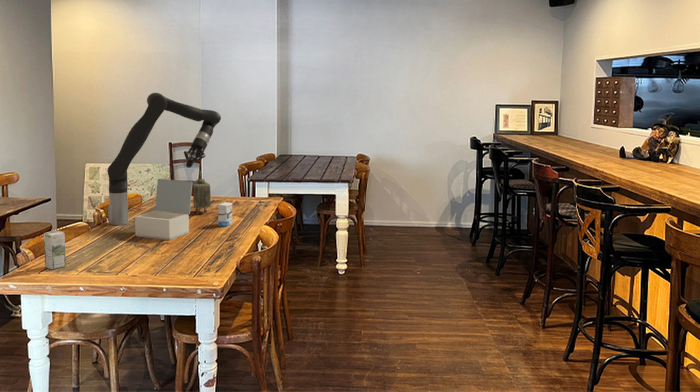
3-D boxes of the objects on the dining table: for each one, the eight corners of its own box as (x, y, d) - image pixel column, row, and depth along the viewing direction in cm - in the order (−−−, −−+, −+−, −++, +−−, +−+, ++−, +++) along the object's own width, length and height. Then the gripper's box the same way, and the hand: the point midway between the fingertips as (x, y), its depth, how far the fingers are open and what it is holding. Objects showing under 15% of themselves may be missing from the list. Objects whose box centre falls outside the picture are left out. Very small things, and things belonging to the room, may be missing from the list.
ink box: (226, 227, 327) (226, 205, 325) (218, 226, 328) (217, 204, 326) (232, 223, 335) (232, 202, 333) (224, 223, 336) (224, 202, 334)
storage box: (135, 236, 302) (134, 216, 301) (156, 229, 317) (155, 210, 315) (169, 240, 296) (169, 220, 294) (189, 233, 310) (188, 214, 309)
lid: (157, 178, 315) (158, 178, 316) (155, 210, 315) (155, 210, 316) (191, 181, 308) (192, 181, 309) (189, 214, 309) (189, 214, 309)
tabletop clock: (193, 210, 368) (192, 169, 364) (208, 209, 371) (208, 169, 367) (194, 215, 355) (194, 172, 350) (210, 214, 357) (210, 172, 353)
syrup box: (58, 264, 252) (56, 230, 250) (66, 266, 249) (64, 232, 246) (45, 267, 248) (42, 232, 245) (53, 270, 244) (50, 234, 242)
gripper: (187, 136, 331) (174, 161, 321) (208, 137, 326) (195, 163, 317) (193, 145, 336) (180, 170, 327) (214, 147, 332) (201, 172, 323)
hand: (188, 166), depth 322 cm, fingers closed
